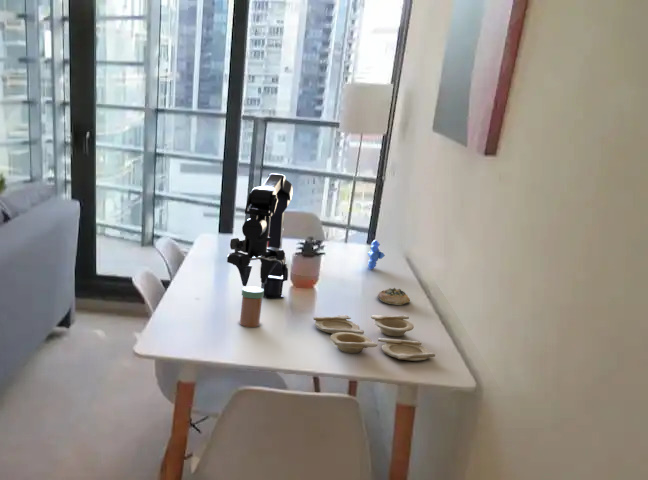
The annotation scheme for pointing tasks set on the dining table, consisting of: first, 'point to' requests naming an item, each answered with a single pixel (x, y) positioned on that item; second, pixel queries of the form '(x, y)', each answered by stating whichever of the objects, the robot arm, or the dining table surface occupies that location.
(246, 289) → the lid
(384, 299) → the bread roll
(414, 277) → the dining table surface
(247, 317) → the jar
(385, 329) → the tableware set
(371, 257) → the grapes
